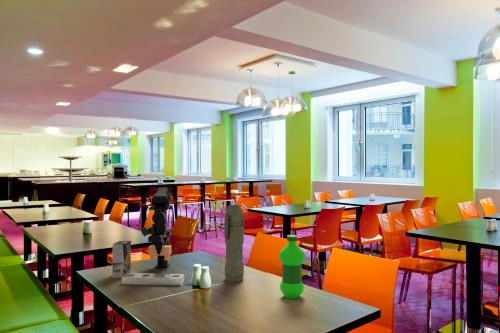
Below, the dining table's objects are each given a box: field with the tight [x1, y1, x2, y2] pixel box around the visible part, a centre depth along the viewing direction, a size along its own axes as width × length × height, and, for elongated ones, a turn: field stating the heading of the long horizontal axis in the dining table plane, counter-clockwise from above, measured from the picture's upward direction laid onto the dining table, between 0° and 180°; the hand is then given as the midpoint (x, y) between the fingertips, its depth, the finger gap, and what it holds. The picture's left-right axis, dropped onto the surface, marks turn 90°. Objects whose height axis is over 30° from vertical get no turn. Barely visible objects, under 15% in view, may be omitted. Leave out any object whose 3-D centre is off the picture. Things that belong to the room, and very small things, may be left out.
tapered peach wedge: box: [148, 244, 172, 261], centre depth 192 cm, size 10×4×6 cm, turn 86°
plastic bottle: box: [278, 234, 306, 300], centre depth 163 cm, size 10×10×25 cm
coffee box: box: [111, 240, 132, 279], centre depth 192 cm, size 9×6×16 cm
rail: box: [121, 272, 185, 286], centre depth 182 cm, size 7×27×3 cm, turn 86°
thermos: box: [223, 204, 245, 284], centre depth 185 cm, size 9×12×35 cm
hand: (160, 253), depth 192 cm, fingers closed on tapered peach wedge, 4 cm apart
